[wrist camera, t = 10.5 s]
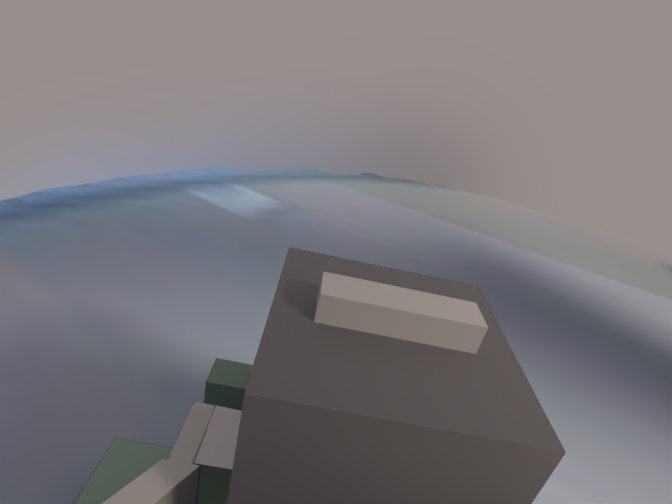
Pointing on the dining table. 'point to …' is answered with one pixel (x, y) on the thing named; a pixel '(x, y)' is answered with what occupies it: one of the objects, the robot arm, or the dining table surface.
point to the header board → (137, 457)
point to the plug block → (386, 395)
